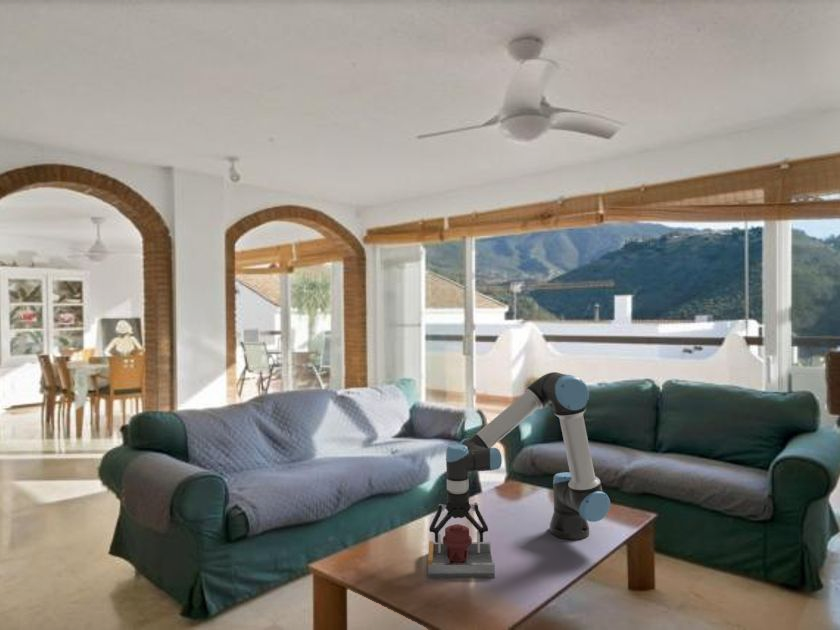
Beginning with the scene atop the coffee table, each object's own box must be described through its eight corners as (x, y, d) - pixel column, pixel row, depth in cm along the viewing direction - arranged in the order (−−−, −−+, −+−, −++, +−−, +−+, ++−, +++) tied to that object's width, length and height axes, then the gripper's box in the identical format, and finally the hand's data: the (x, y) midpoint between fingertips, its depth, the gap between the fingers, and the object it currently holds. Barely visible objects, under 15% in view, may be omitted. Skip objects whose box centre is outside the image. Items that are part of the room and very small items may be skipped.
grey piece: (490, 552, 207) (490, 538, 206) (495, 578, 188) (494, 562, 188) (429, 553, 208) (429, 538, 207) (428, 578, 189) (428, 562, 188)
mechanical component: (473, 556, 202) (470, 569, 192) (445, 554, 203) (441, 567, 194) (472, 521, 201) (469, 532, 191) (444, 520, 203) (440, 531, 193)
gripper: (493, 486, 200) (494, 546, 201) (422, 487, 201) (423, 546, 202) (494, 493, 193) (496, 555, 193) (421, 494, 194) (422, 556, 194)
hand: (459, 551), depth 198 cm, fingers open, 13 cm apart
